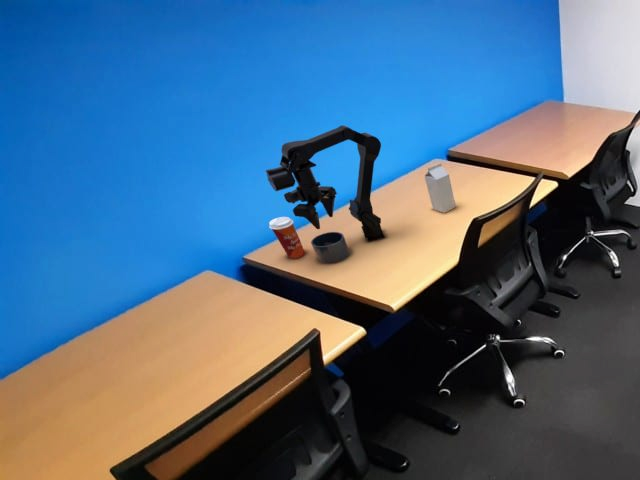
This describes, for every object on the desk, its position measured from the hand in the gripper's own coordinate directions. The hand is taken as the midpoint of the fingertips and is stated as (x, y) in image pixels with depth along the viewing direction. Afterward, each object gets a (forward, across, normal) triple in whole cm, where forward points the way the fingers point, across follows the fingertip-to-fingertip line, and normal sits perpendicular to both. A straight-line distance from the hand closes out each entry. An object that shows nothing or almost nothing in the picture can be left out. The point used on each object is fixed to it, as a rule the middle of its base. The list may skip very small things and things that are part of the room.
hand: (324, 222), depth 170 cm
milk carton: (+12, -38, +30) cm, 50 cm away
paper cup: (+12, +4, -14) cm, 19 cm away
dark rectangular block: (+10, +3, +1) cm, 11 cm away
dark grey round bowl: (+12, +3, +1) cm, 12 cm away
